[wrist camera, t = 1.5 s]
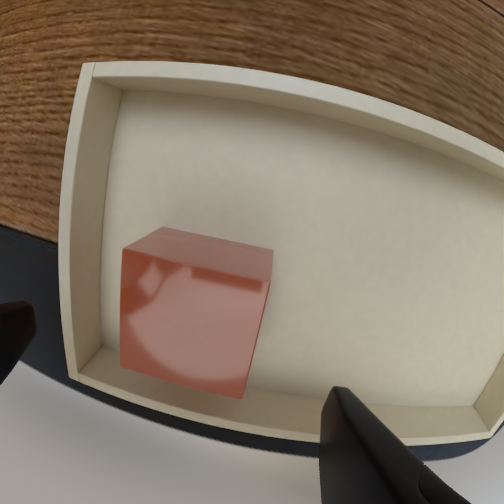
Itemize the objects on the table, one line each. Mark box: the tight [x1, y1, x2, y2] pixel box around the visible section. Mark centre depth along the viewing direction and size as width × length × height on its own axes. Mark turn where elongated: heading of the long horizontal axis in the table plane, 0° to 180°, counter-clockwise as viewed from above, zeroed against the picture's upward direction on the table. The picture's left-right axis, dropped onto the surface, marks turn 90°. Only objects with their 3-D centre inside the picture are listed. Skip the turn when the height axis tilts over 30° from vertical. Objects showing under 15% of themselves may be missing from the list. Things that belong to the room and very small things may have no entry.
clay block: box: [120, 227, 273, 400], centre depth 11 cm, size 4×4×4 cm
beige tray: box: [59, 61, 504, 446], centre depth 11 cm, size 22×13×3 cm, turn 79°
